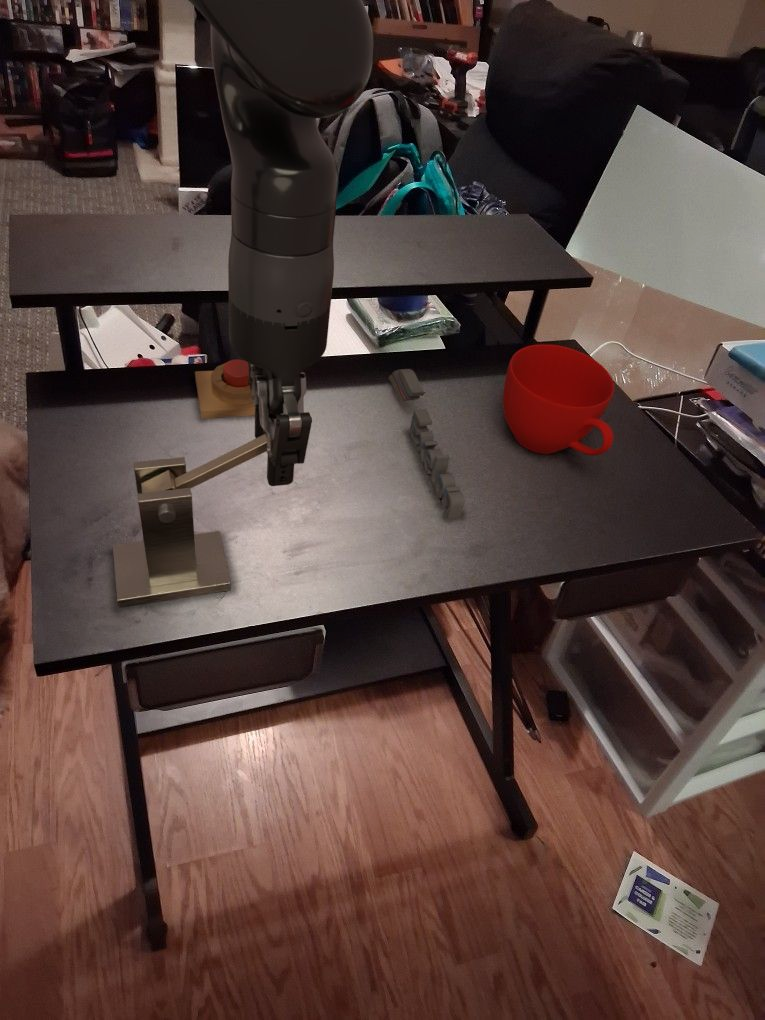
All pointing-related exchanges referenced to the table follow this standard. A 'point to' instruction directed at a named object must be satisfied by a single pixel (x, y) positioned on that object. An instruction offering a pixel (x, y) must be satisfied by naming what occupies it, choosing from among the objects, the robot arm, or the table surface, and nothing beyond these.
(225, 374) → the button
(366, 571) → the table surface
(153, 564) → the bracket
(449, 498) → the block letters
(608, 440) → the ceramic cup
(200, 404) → the switch block
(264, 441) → the lever
